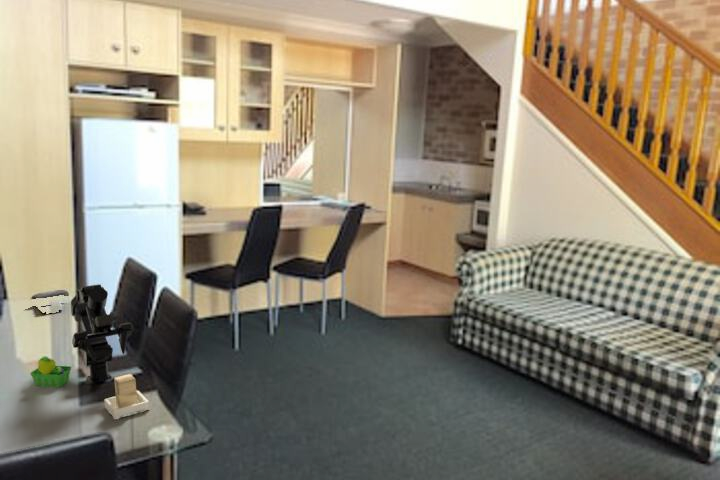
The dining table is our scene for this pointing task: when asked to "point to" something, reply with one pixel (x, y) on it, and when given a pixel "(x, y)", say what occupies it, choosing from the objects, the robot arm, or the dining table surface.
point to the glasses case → (50, 294)
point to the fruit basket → (50, 373)
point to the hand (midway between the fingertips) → (109, 356)
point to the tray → (115, 412)
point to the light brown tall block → (125, 391)
